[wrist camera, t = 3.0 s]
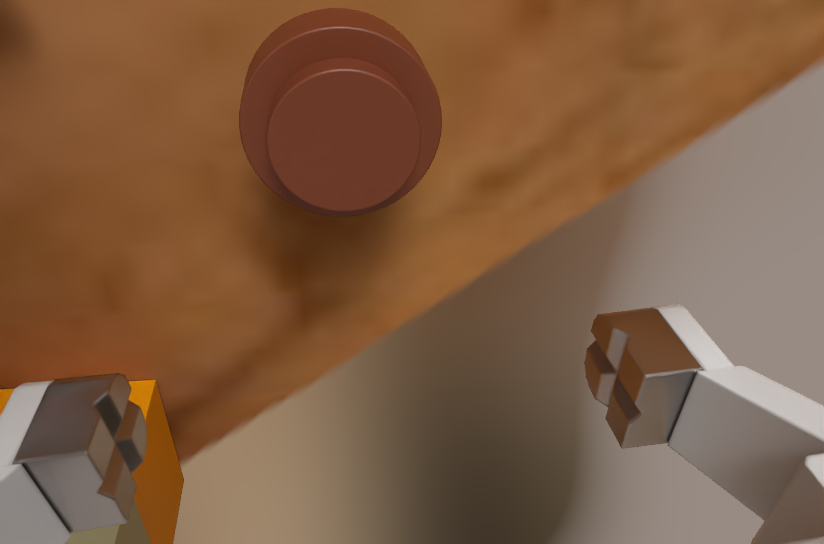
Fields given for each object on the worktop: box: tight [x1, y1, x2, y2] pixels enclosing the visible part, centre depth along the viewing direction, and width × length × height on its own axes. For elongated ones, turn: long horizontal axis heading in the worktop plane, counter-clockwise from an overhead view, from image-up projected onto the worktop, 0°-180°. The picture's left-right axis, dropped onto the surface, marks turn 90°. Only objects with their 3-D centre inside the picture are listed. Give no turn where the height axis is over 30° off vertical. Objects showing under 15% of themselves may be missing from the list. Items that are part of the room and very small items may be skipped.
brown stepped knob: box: [239, 8, 442, 217], centre depth 19 cm, size 6×6×6 cm
